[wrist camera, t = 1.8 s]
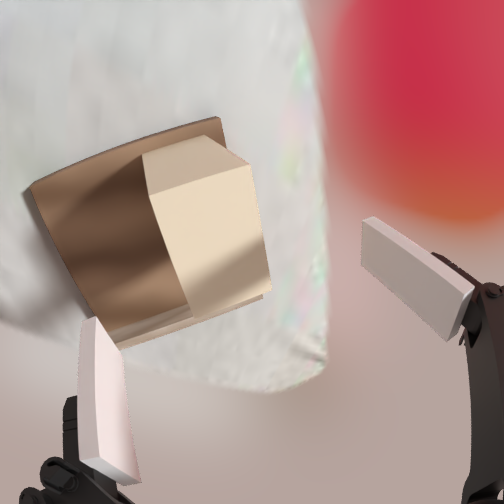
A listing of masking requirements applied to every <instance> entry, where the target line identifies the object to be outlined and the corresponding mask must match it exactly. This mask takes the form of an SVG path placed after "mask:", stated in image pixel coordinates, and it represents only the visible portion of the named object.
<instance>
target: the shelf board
mask: <svg viewBox="0 0 504 504" xmlns="http://www.w3.org/2000/svg"><path fill="white" fill-rule="evenodd" d="M202 135H206V136H207V137H209V138H210V139H212V140H214V141H215V142H217V143H218V144H220V145H221V146H223V147H225V148H226V143H225V138H224V133H223V129H222V124H221V119H220V118H219V117H216V116H215V117H211V118H207V119H203V120H199V121H196V122H192V123H188V124H185V125H181V126H178V127H175V128H171V129H168V130H165V131H161V132H158V133H155V134H152V135H149V136H146V137H143V138H140V139H137V140H134V141H131V142H128V143H125V144H123V145H120V146H117V147H114V148H112V149H109V150H106V151H104V152H101V153H99V154H96V155H94V156H91V157H89V158H86V159H84V160H81V161H79V162H77V163H74V164H72V165H70V166H67V167H65V168H63V169H61V170H58V171H56V172H54V173H52V174H50V175H47V176H45V177H43V178H41V179H39V180H37V181H35V182H34V183H33V184H32V185H31V186H30V187H29V188H30V190H31V193H32V195H33V197H34V200H35V202H36V205H37V207H38V209H39V211H40V214H41V216H42V218H43V220H44V223H45V225H46V227H47V229H48V231H49V233H50V235H51V237H52V239H53V241H54V243H55V245H56V247H57V249H58V251H59V253H60V255H61V257H62V259H63V261H64V263H65V265H66V267H67V269H68V270H69V272H70V274H71V276H72V278H73V279H74V281H75V283H76V285H77V286H78V288H79V290H80V292H81V293H82V295H83V297H84V298H85V300H86V302H87V303H88V305H89V307H90V308H91V310H92V311H93V313H94V315H95V316H96V317H97V318H98V320H99V321H100V323H101V324H102V326H103V328H104V329H105V331H106V332H107V334H108V335H109V337H110V338H111V340H112V341H113V343H114V344H115V346H116V347H117V348H118V350H122V349H125V348H128V347H131V346H134V345H137V344H140V343H143V342H146V341H149V340H152V339H155V338H158V337H161V336H164V335H166V334H169V333H172V332H175V331H178V330H180V329H183V328H186V327H189V326H192V325H194V324H197V323H200V322H203V321H205V320H208V319H211V318H213V317H216V316H219V315H221V314H224V313H227V312H229V311H232V310H235V309H237V308H240V307H242V306H245V305H248V304H250V303H253V302H255V301H258V300H260V299H263V295H262V294H261V295H258V296H256V297H253V298H251V299H248V300H245V301H243V302H240V303H238V304H235V305H232V306H230V307H227V308H224V309H222V310H219V311H216V312H214V313H211V314H208V315H206V316H203V317H200V318H197V319H194V316H193V314H192V311H191V309H190V306H189V304H188V302H187V299H186V297H185V294H184V292H183V289H182V286H181V284H180V281H179V279H178V276H177V274H176V271H175V268H174V266H173V263H172V261H171V258H170V255H169V252H168V250H167V247H166V244H165V242H164V239H163V236H162V233H161V230H160V228H159V225H158V222H157V219H156V216H155V213H154V210H153V207H152V204H151V201H150V198H149V194H148V189H147V183H146V177H145V171H144V165H143V159H142V154H144V153H147V152H150V151H153V150H156V149H159V148H162V147H165V146H168V145H171V144H175V143H178V142H181V141H184V140H188V139H191V138H195V137H198V136H202ZM226 149H227V148H226Z"/></svg>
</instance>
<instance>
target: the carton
mask: <svg viewBox="0 0 504 504" xmlns="http://www.w3.org/2000/svg"><path fill="white" fill-rule="evenodd" d="M142 159H143V165H144V171H145V177H146V183H147V189H148V194H149V198H150V201H151V204H152V207H153V210H154V213H155V216H156V219H157V222H158V225H159V228H160V230H161V233H162V236H163V239H164V242H165V244H166V247H167V250H168V252H169V255H170V258H171V261H172V263H173V266H174V268H175V271H176V274H177V276H178V279H179V281H180V284H181V286H182V289H183V292H184V294H185V297H186V299H187V302H188V304H189V306H190V309H191V311H192V314H193V316H194V319H197V318H200V317H203V316H206V315H208V314H211V313H214V312H216V311H219V310H222V309H224V308H227V307H230V306H232V305H235V304H238V303H240V302H243V301H245V300H248V299H251V298H253V297H256V296H258V295H261V294H263V293H266V292H269V291H271V290H272V286H271V280H270V274H269V268H268V262H267V256H266V250H265V244H264V239H263V233H262V227H261V221H260V216H259V210H258V204H257V199H256V193H255V188H254V182H253V176H252V171H251V165H250V164H249V163H248V162H246V161H245V160H243V159H242V158H240V157H239V156H237V155H235V154H234V153H232V152H231V151H229V150H228V149H226V148H225V147H223V146H221V145H220V144H218V143H217V142H215V141H214V140H212V139H210V138H209V137H207V136H206V135H202V136H198V137H195V138H191V139H188V140H184V141H181V142H178V143H175V144H171V145H168V146H165V147H162V148H159V149H156V150H153V151H150V152H147V153H144V154H142Z"/></svg>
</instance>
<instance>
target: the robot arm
mask: <svg viewBox="0 0 504 504" xmlns="http://www.w3.org/2000/svg"><path fill="white" fill-rule="evenodd" d="M361 249H362V250H361V265H362V266H363V267H364V268H365V269H366V270H368V271H369V272H370V273H371V274H372V275H373V276H374V277H376V278H377V279H378V280H379V281H380V282H381V283H383V284H384V285H385V286H386V287H387V288H388V289H389V290H390V291H391V292H393V293H394V294H395V295H396V296H397V297H398V298H399V299H400V300H402V301H403V302H404V303H405V304H406V305H407V306H408V307H409V308H410V309H412V310H413V311H414V312H415V313H416V314H417V315H418V316H419V317H420V318H421V319H423V320H424V321H425V322H426V323H427V324H428V325H429V326H430V327H431V328H432V329H433V330H434V331H435V332H436V333H437V334H439V336H441V337H442V338H443V339H444V340H445V341H446V342H447V341H449V340H450V339H451V338H452V337H454V336H455V335H456V334H457V333H458V330H459V328H460V326H461V324H462V325H463V326H464V327H465V329H464V332H463V334H462V336H461V338H460V341H459V345H461V344H462V342H463V340H465V343H464V345H465V346H466V354H467V363H468V372H469V383H470V397H471V424H472V425H471V427H472V428H471V430H472V431H471V433H472V435H471V466H470V473H469V476H468V478H467V480H466V482H465V485H464V488H463V493H462V501H461V504H504V491H503V500H497V497H498V494H499V492H500V491H501V490H502V489H504V286H501V287H500V286H499V285H497V284H495V283H490V282H489V283H484V284H481V283H480V282H478V281H477V280H476V279H474V278H473V277H472V276H470V275H469V274H468V273H466V272H465V271H464V270H462V269H461V268H458V266H457V265H455V264H454V263H451V261H450V260H448V259H447V258H445V257H444V256H442V255H439V254H437V253H434V252H432V253H429V252H427V251H426V250H425V249H423V248H422V247H420V246H419V245H417V244H416V243H414V242H413V241H411V240H410V239H408V238H407V237H405V236H404V235H402V234H401V233H399V232H398V231H396V230H395V229H393V228H392V227H390V226H388V225H387V224H385V223H384V222H382V221H381V220H379V219H378V218H376V217H374V216H372V217H369V218H367V219H364V220H362V247H361ZM77 393H78V395H77V396H73V397H69V398H67V400H66V403H65V405H64V408H63V422H64V423H63V432H64V433H63V459H64V460H63V459H62V458H60V457H51V458H49V459H47V460H46V461H45V462H44V463H43V465H42V467H41V470H40V480H41V483H42V485H43V486H44V487H45V489H43V490H41V491H39V490H37V489H35V488H32V487H28V488H26V489H24V490H23V491H22V492H21V495H20V498H19V504H135V503H133V502H132V501H131V500H130V499H128V498H127V497H126V496H125V495H123V494H122V493H121V492H120V491H118V490H117V486H116V482H117V483H119V484H121V485H123V486H126V485H132V484H137V483H141V478H140V474H139V469H138V464H137V459H136V453H135V448H134V443H133V437H132V430H131V424H130V417H129V410H128V403H127V394H126V385H125V376H124V364H123V356H122V354H121V353H120V351H119V350H118V348H117V347H116V346H115V344H114V343H113V341H112V340H111V338H110V337H109V335H108V334H107V332H106V331H105V329H104V328H103V326H102V324H101V323H100V321H99V320H98V318H97V317H96V316H95V317H92V318H89V319H87V320H84V321H82V324H81V334H80V346H79V362H78V390H77Z"/></svg>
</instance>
